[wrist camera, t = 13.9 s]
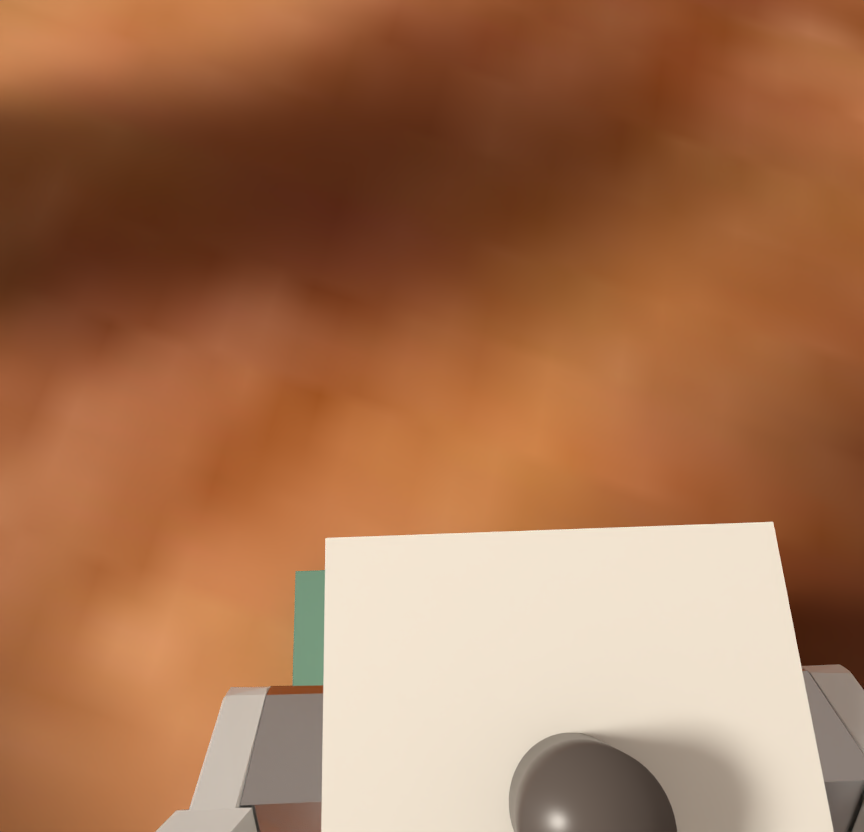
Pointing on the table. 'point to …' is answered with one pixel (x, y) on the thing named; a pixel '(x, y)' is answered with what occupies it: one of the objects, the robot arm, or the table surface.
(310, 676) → the header board
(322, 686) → the robot arm
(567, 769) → the block
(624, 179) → the table surface
